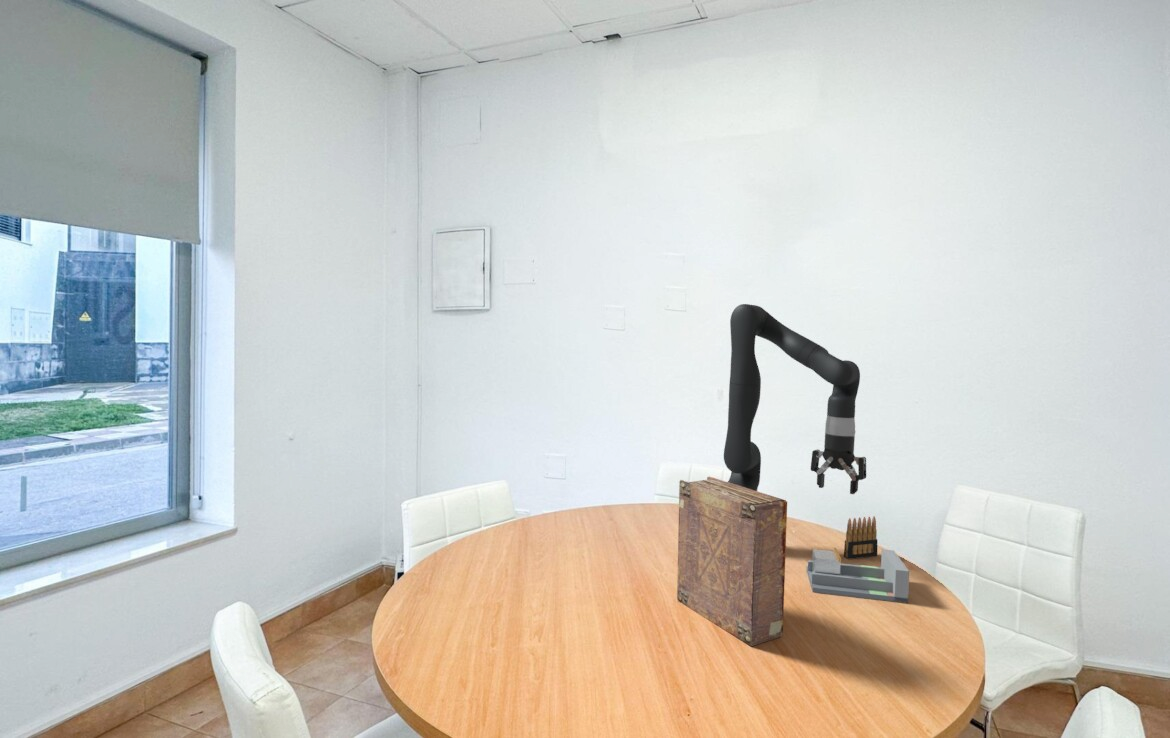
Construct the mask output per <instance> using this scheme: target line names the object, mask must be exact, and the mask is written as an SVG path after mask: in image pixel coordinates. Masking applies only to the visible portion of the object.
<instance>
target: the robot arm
mask: <svg viewBox="0 0 1170 738" xmlns="http://www.w3.org/2000/svg"><path fill="white" fill-rule="evenodd" d="M729 323H730V324H729V325H730V345H731V354H730V355H731V357H730V371H729V372H730V374H729V375H730V376H729V388H728V389H729V390H728V408H727V409H728V410H727V411H728V412H727V415H728V416H727V431H726V437H725V444H724V449H723V461H724V464H725V466H726V468H727V469H728V470H729V471H730V472H731V473H730V476H729V478H728V481H727V482H729V483H732V484H735V485H738V486H742V487H745V488H748V489H751V490H754V491H758V489H759V485H760V480H761V466H762V465H761V464H762V456H761V451H760V449H759V447H758V445H757V444H756V443H754V442H753V441H751V440H752V439H751V438H752V437H751V436H752V427H753V423H754V420H755V417H756V414H757V412H758V408H759V404H760V399H761V390H762V389H761V384H762V381H761V379H762V377H761V373H760V369H759V365H758V361H757V359H756V353H755V346H756V345H755V344H756V336H757V337H760V338H762V339H765V340H767V341H769V342H771V343H773V344H774V345H775V346H777V347H778V348H780V349H781V351H783V352H784V353H785V354H786V355H787V356H789V357H790V358H791V359H793V360H794V361H796V362H798V363H799V364H801V365H803V366H804V367H806V368H808V369H810V370H812V371H813V372H815V373H816V374H817V376H819V377H821V379H823V380H824V381H826V382H827V383H829V384H831V385H833V386H832V392H831V394H830V396H829V397H828V399H827V409H826V410H827V411H826V420H825V428H824V429H825V430H824V448H823V449H824V450H823V451H822V450H820V449H814V450H812V453H811V462H810V471H812V472H814V473H816V475H817V476H816V485H817V486H818V488H820V489H823V488H824V487H825V476H826V474H825V472H826V471H827V470H828V469H832V470H833V469H834V470H835V469H837V470H840V471H845V473H846V474H847V475H848V476H849V477H850V479H851V480H850V486H849V488H850V489H849V494H850V495H855V494H856V493H857V492H858V490H859V481H862V480H865V479H867V457H866V456H855V438H856V437H855V436H856V418H855V417H856V399H857V395H858V393H859V392H858V391H859V387H860V386H859V385H860V381H861V373H860V368H859V366H858V365H857V363H855V362H854V361H851V360H846V359H845V360H842V359H840V358H838V357H836V356H835V355H833V354H831V353H829V351H828V349H826V348H825V347H824V346H821V345H820V344H818V343H816V342H814V340H811V339H809V338H807V337H806V336H804V335H802V334H800V333H798V332H796V331H795V330H793V329H790V327H787V326H786V325H784V324H783V323H782V322H780V321H779V320H777V318H775V317H774V316H772V314H770V313H769V312H768V311H766V310H765V309H764V308H762V307H761V306H759V305H757V304H756V305H755V304H748V303H745V304H744V303H743V304H739V305H738V306H736V307H735V308H734V309H733V311H732V312H731V315H730V322H729ZM822 457H823V459H824V461H825V462H823V464H822V465H821V466H819V465H820V464H819V463H820V459H821V458H822ZM854 462H855V464H856V465H858V473H857V472H856V469H855V467H854V466H853V463H854Z"/></svg>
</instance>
